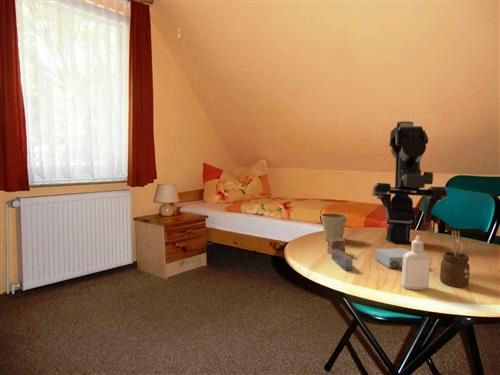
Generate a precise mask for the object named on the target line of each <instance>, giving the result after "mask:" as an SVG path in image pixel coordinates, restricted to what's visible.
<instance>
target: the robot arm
mask: <svg viewBox="0 0 500 375" xmlns="http://www.w3.org/2000/svg"><path fill="white" fill-rule="evenodd" d="M388 144H389V148H391V149H390V153H391V154H392V156H393V157H394V159H395V165H394V166H395V170H394V172H395V174H394V187H393V186H391V183H385V182H381V183H380V182H377V183H376V184H375V185H374V186H373V187H372V195H371V196H373V197H375V196H376V199H377V200H380V201H381V203H382V206H383V208H384V210H385V213H386V220H385V221H386V224H387V225H388V227H387V228H386V229H387V230H386V237H385V240H387V241H388V242H391V243H393V244H412V240H410V238H411V227H414V226H415V225H416V218H417V211H416V209H415V207H414V203H413V199H412V197H410V196H419V197H425V198H426V199H425V200H424V207H423V224H427V223H428V221H429V218H430V215H431V213H432V211H433V208H434V207H435V205H436V204H437V203H439V202H441V201H442V200H445V199H447V198H448V190H447V188H446V187H443V186H431V187H428V188H427V189H425V188H426V187H425V186H426V185H432V184H433V182H434V172H432V171H424V172H423V174H422V170H421V159H423V158H422V157H423V156H424V154H425V152H426V150H427V144H429V137H428V135H427V133H426V130H424V129H423V126H420V125H417V126H415V125H414V121H409V120H408V121H398V122H396V127H394V128H393V129H392V130H391V131H390V134H389V143H388ZM392 195H394V196H392Z"/></svg>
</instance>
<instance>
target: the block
mask: <svg viewBox="0 0 500 375" xmlns="http://www.w3.org/2000/svg"><path fill="white" fill-rule="evenodd" d="M332 249H340V250H342V251H343V252H344V253H345V254H346V240H345V239H342V238H328V240H327V253H328V254H329V255H330V254H331V255H332ZM331 255H330V256H331Z"/></svg>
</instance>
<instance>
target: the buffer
mask: <svg viewBox="0 0 500 375" xmlns="http://www.w3.org/2000/svg"><path fill="white" fill-rule="evenodd" d="M331 260H332V261H334V263H336V264H337V265H338V266H339V267H340V268H341V269H343V271H353V260H354V259H353V258H352V257H351V256H349V255H348V254H347V253H346V252H345V253H344V252H343V251H342V250H340V249H332V256H331Z"/></svg>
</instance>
